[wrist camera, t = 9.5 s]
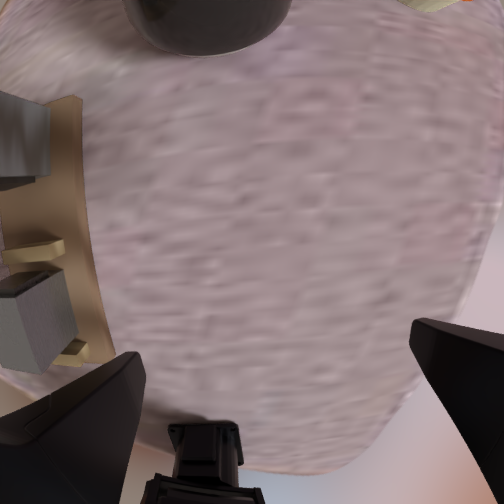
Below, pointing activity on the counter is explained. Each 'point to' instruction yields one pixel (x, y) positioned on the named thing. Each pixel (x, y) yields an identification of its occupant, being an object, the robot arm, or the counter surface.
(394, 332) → the counter surface
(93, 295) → the rail
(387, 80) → the counter surface
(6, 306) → the block
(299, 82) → the counter surface
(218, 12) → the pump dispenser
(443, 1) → the reusable coffee cup
